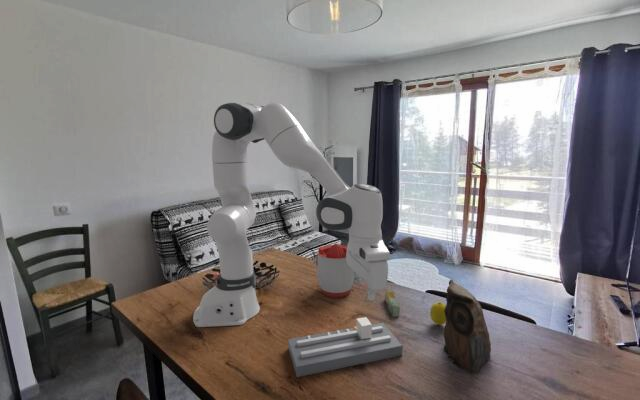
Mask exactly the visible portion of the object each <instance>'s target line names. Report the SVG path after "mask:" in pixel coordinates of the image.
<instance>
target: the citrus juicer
mask: <svg viewBox="0 0 640 400" xmlns="http://www.w3.org/2000/svg"><path fill="white" fill-rule="evenodd" d="M346 252H347V245H343V244H342V245H341V244H338V243H334V244H329V245H324V246H320V247H319V248H318V252H316V256H315V257H314V259H313V260H312V261H311V264H312V265H313V264H315V265H316V273H317V274H316V276H317V277H316V278H317V282H318V285H319V289H320V291H321V293H322V294H323V295H325V296H327V297H331V298H340V297H345V296H348V295H349V294H351V292H352V289H353V285H354V282H353V280H354V278H353V274H352V269H351V268H350V266H349V265H348V264H347V262H346Z"/></svg>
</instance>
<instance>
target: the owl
mask: <svg viewBox="0 0 640 400" xmlns="http://www.w3.org/2000/svg"><path fill="white" fill-rule="evenodd" d="M446 292H447V293H446V297H445V298H446V299H445V300H446V304H445V306H446V307H445V310H444V312H445V316H446V323H445V324H444V328H443V339H444V344H445V345H444V348H443V351H444V352H445V353H446V354H447V357H448V359H450V360H451V361H452V364H453V365H455V366H456V367H457V368H459V369H462V370H464V371H466V372H468V373H469V374H471V375H474V374H477V373H478V372H479V370H480V369H482V367H483V366H484V364H485V363H488V361H489V359H490V358H491V352H492V347H491V345H492V343H491V340H490V338H491V337H490V333H489V329H488V326H487V323H486V320H485V315H484V312H483V308H482V306H481V304H480V302H479V301H478V299H477V298H476V297H475V295H473V294H472V293H471V292H470V291H469V290H468V289H467V288H465V287H464V286H462V285H461V284H458V283H457V282H456V281H454V280H453V279H450V280H449V281H448V286H447V288H446Z"/></svg>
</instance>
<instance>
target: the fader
mask: <svg viewBox="0 0 640 400" xmlns="http://www.w3.org/2000/svg"><path fill="white" fill-rule="evenodd" d="M372 325H373V324H372V322H371V321H370V320H369V319H368V318H367V316H364V317H359V318H356V325H355V326H356V331H357V336H358V338H359V339H360V341H361V340H366V339H371V337H372Z"/></svg>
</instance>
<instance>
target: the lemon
mask: <svg viewBox="0 0 640 400" xmlns="http://www.w3.org/2000/svg"><path fill="white" fill-rule="evenodd" d="M445 307H446V304H444V303H443V302H441V301H438V302H435V303H433V304H432V305H431V307H430V312H429V316H430V319H431V321H432V322H433V323H434V324H436V326H441V325H442V326H443V325H446V316H445V312H444V310H445Z"/></svg>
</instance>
